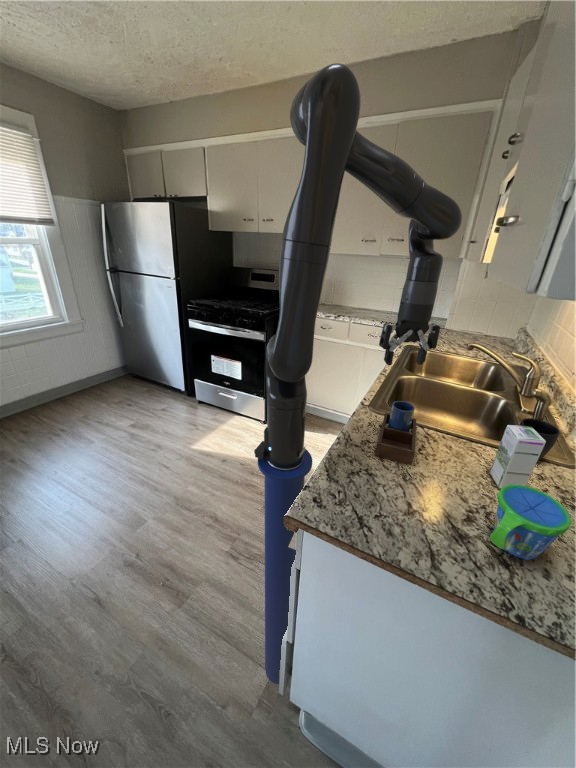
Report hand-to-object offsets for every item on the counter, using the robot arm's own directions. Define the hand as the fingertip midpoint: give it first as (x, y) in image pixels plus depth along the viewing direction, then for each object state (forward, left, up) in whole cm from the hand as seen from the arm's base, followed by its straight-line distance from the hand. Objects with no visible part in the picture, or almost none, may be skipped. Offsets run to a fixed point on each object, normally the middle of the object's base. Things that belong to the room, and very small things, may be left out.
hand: (403, 364), depth 81 cm
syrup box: (+28, -7, -24) cm, 37 cm away
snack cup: (+26, -26, -24) cm, 44 cm away
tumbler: (+2, +3, -23) cm, 23 cm away
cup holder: (+2, -1, -23) cm, 24 cm away
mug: (+34, +7, -24) cm, 42 cm away
